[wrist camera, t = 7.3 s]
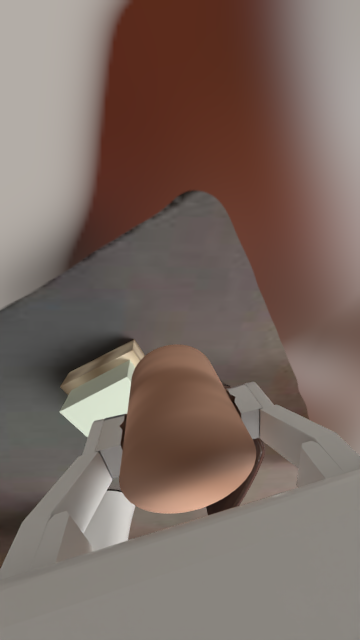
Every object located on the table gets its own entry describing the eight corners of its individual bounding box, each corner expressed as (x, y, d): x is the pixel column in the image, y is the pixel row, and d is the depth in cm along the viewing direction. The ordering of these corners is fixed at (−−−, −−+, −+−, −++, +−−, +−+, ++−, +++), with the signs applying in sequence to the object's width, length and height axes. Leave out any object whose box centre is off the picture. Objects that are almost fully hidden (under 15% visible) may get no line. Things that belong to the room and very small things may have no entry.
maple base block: (111, 415, 36) (107, 434, 32) (70, 370, 31) (60, 386, 27) (167, 387, 35) (169, 403, 32) (134, 338, 31) (132, 350, 27)
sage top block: (110, 429, 32) (105, 453, 28) (71, 390, 28) (59, 411, 24) (161, 402, 31) (163, 423, 28) (129, 359, 28) (127, 376, 24)
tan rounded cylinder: (170, 424, 13) (183, 526, 8) (112, 383, 11) (86, 485, 6) (228, 379, 12) (278, 460, 7) (178, 327, 10) (203, 393, 6)
